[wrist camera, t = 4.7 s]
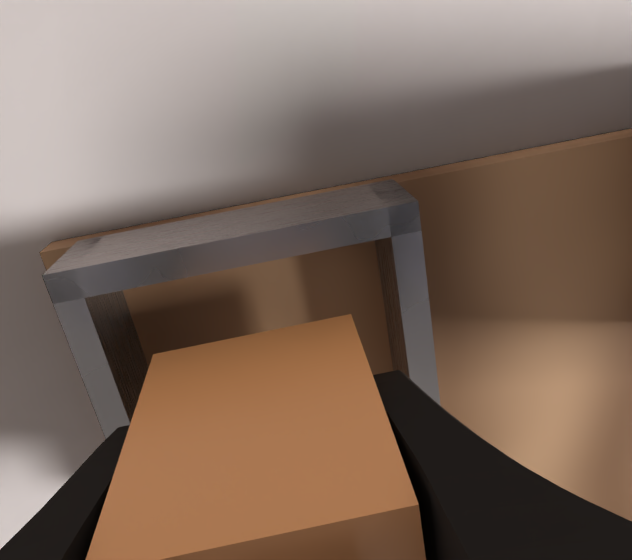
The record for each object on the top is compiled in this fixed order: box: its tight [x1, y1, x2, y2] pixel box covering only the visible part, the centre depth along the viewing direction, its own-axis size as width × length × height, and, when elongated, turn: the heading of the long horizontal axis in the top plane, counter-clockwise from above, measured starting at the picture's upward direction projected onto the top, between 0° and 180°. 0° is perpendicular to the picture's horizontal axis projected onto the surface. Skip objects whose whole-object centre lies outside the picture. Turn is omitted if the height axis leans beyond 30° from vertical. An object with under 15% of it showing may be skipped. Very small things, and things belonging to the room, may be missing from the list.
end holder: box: [42, 179, 441, 439], centre depth 13 cm, size 7×7×2 cm
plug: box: [86, 314, 426, 560], centre depth 9 cm, size 4×4×6 cm
